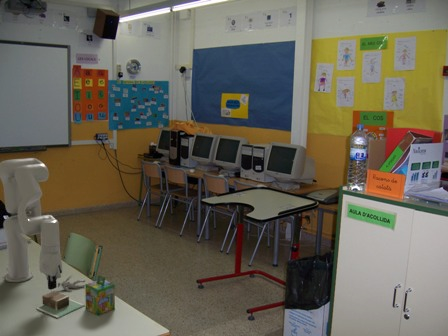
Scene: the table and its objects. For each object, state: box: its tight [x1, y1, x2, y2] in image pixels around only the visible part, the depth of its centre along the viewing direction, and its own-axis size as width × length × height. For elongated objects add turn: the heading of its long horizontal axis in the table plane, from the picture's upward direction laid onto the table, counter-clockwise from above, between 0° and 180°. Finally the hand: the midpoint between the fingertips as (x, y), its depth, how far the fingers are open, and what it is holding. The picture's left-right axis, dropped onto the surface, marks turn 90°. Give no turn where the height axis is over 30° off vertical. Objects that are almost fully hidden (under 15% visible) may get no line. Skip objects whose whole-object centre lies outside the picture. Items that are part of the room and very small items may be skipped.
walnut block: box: [41, 290, 70, 310], centre depth 206 cm, size 4×6×10 cm
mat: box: [35, 298, 85, 320], centre depth 204 cm, size 14×14×1 cm
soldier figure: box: [57, 275, 86, 292], centre depth 224 cm, size 8×5×12 cm
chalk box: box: [84, 274, 116, 316], centre depth 203 cm, size 9×9×15 cm
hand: (52, 288), depth 206 cm, fingers closed
